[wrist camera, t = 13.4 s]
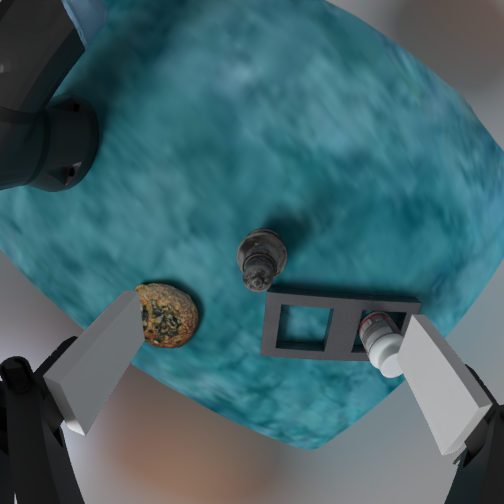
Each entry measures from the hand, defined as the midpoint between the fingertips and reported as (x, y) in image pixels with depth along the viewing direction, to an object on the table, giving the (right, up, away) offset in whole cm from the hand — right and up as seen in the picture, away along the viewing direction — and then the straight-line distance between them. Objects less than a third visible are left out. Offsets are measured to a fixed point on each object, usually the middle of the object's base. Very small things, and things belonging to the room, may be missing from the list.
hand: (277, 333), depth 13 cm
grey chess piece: (0, +4, +24) cm, 25 cm away
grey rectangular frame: (+11, -7, +26) cm, 29 cm away
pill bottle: (+17, -7, +26) cm, 32 cm away
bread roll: (-14, -5, +29) cm, 33 cm away
